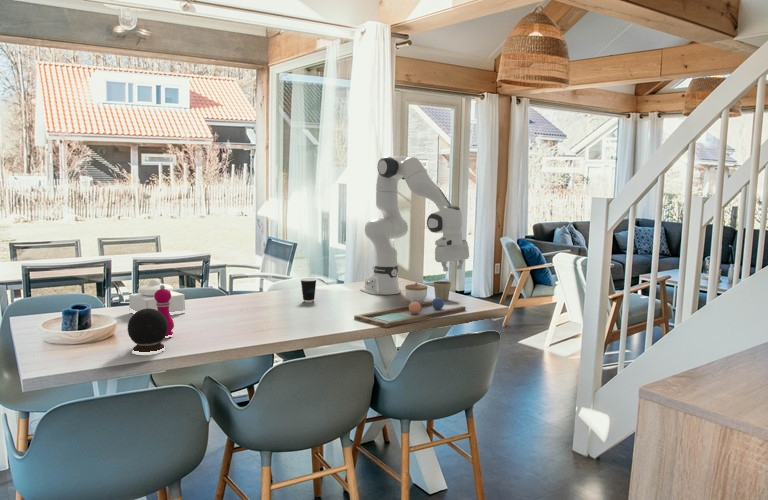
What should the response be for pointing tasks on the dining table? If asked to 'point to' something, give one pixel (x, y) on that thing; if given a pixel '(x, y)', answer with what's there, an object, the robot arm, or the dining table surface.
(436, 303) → the blue ball
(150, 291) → the butter dish
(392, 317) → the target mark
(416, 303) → the coral ball
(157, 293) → the pepper mill
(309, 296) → the dixie cup
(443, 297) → the flower pot
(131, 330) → the black ball on stand
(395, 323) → the guard rails
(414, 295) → the lidded jar
